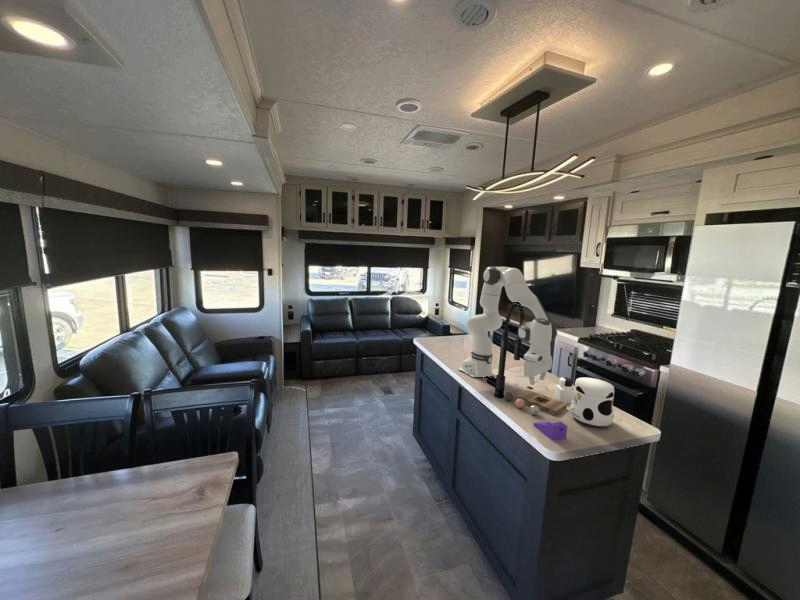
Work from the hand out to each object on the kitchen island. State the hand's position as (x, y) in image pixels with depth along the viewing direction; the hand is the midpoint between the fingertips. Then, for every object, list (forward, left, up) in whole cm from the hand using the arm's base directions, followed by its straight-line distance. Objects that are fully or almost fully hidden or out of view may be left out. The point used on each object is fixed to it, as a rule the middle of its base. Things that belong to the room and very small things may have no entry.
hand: (537, 382), depth 150 cm
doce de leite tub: (+19, +16, -17) cm, 30 cm away
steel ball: (0, 0, -14) cm, 14 cm away
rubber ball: (-16, +4, -14) cm, 22 cm away
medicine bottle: (+2, +28, -17) cm, 33 cm away
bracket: (+12, -9, -17) cm, 23 cm away
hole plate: (-3, +13, -16) cm, 21 cm away
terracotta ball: (-8, +1, -14) cm, 16 cm away
